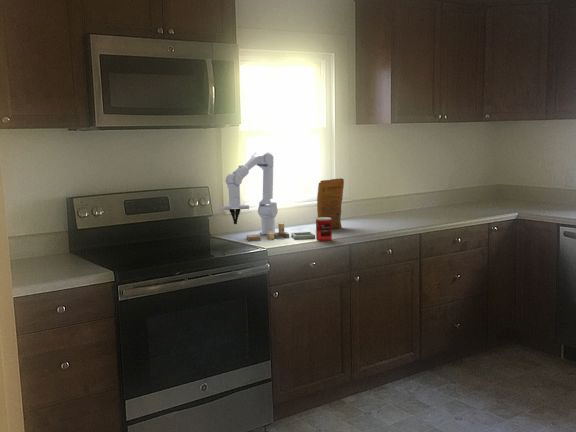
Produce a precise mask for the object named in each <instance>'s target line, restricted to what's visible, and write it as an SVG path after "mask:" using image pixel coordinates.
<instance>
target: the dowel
mask: <svg viewBox="0 0 576 432" xmlns="http://www.w3.org/2000/svg"><path fill="white" fill-rule="evenodd" d="M277 225H278V228H277V229H278V232H279V234H284V232H285V223H282V222H281V223H278V224H277Z"/></svg>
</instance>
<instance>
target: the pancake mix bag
mask: <svg viewBox="0 0 576 432" xmlns="http://www.w3.org/2000/svg"><path fill="white" fill-rule="evenodd" d="M344 183H345V179H344V178H333V179H331V178H330V179H322V180H319V182H318V186H317V193H316V194H317V197H316V207H317V208H316V211H317V214H316V215H317V217H316V218H320V217H329V218H331V219H332V230H335V229H336V228H338V229H341V228H342V222H341V221H342V220H341V218H342V202H343V196H344V195H343V193H344V189H345V188H344V187H345V185H344Z"/></svg>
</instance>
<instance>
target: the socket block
mask: <svg viewBox="0 0 576 432" xmlns="http://www.w3.org/2000/svg"><path fill="white" fill-rule="evenodd" d="M289 238H290V233H289V232H287V231H284V234H279V231H278V232H276V233H274V239H289Z"/></svg>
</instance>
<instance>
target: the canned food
mask: <svg viewBox="0 0 576 432" xmlns="http://www.w3.org/2000/svg"><path fill="white" fill-rule="evenodd" d="M315 229H316V230H315V234H316V235H315V239H316V241H318V242H330V241H332V239H333V231H332V230H333V229H332V219H331V218H329V217H320V218H317V217H316V218H315Z"/></svg>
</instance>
